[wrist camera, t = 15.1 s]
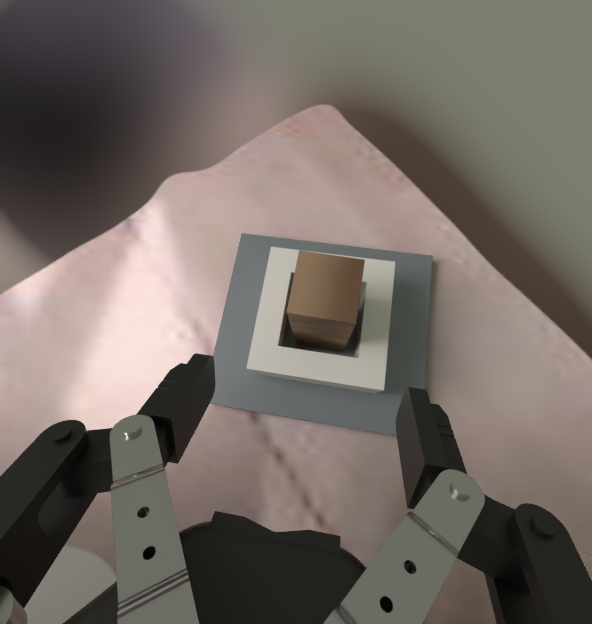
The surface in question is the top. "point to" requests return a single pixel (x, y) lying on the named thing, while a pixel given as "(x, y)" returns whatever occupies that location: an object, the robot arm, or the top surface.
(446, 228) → the top surface
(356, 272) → the brown wooden block
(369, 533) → the top surface
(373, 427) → the socket plate
